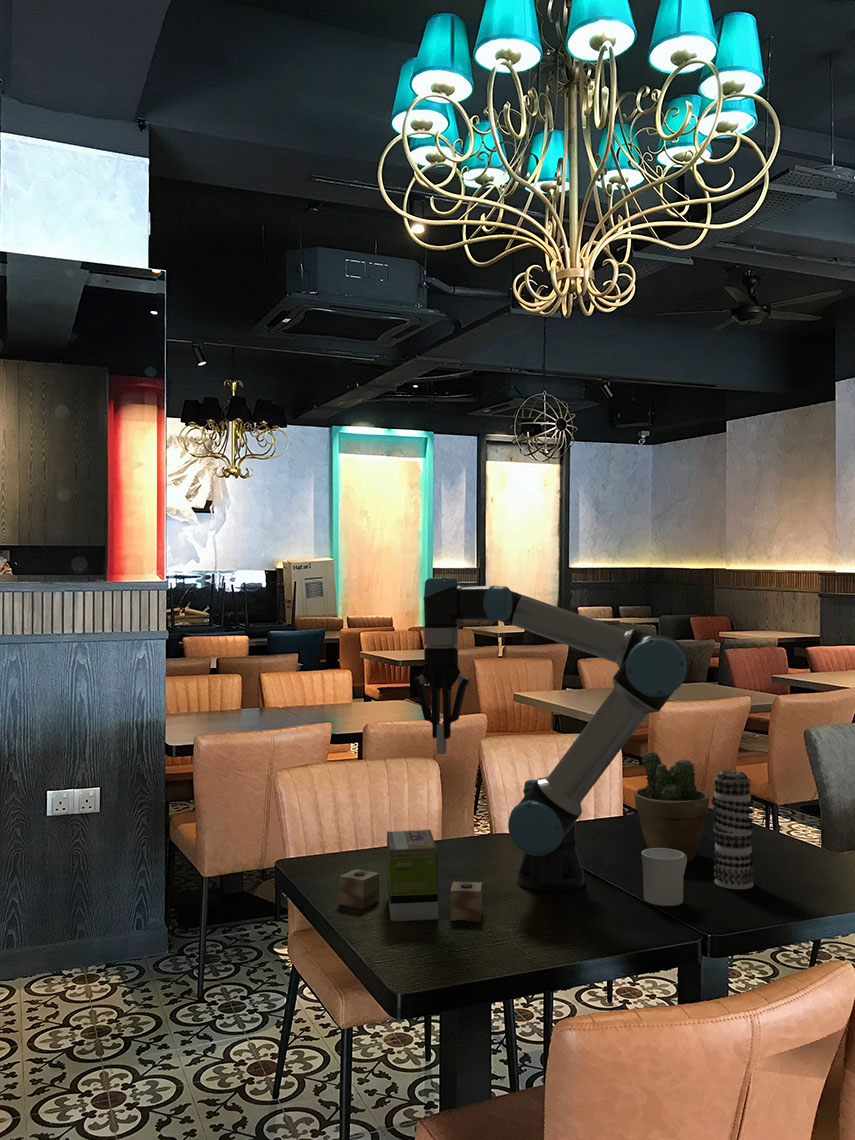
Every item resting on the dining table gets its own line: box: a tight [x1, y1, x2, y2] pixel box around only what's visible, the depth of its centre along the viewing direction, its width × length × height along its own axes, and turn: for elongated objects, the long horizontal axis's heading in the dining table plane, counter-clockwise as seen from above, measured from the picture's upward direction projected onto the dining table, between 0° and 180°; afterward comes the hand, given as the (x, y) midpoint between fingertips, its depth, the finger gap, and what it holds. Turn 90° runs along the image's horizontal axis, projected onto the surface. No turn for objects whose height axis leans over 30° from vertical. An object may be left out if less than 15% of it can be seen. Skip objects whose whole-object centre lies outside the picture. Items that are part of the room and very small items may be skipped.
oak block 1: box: [339, 868, 380, 910], centre depth 200 cm, size 6×6×6 cm
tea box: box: [386, 829, 439, 922], centre depth 196 cm, size 15×10×15 cm, turn 5°
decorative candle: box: [710, 769, 755, 890], centre depth 213 cm, size 9×9×25 cm
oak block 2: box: [450, 881, 483, 922], centre depth 192 cm, size 6×6×6 cm
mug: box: [641, 848, 688, 909], centre depth 200 cm, size 11×9×10 cm
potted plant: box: [634, 751, 710, 862], centre depth 236 cm, size 18×19×25 cm
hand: (441, 753), depth 208 cm, fingers closed
